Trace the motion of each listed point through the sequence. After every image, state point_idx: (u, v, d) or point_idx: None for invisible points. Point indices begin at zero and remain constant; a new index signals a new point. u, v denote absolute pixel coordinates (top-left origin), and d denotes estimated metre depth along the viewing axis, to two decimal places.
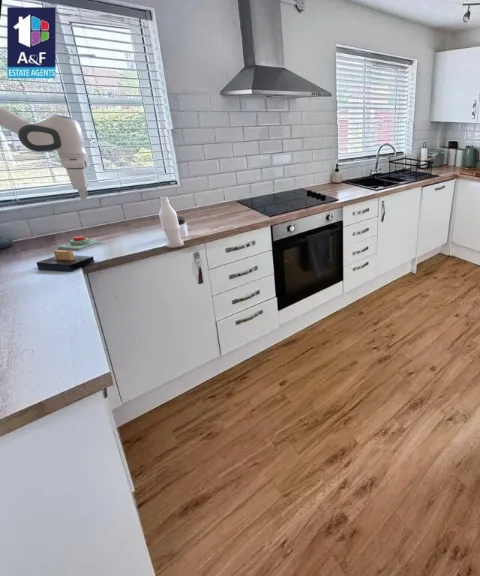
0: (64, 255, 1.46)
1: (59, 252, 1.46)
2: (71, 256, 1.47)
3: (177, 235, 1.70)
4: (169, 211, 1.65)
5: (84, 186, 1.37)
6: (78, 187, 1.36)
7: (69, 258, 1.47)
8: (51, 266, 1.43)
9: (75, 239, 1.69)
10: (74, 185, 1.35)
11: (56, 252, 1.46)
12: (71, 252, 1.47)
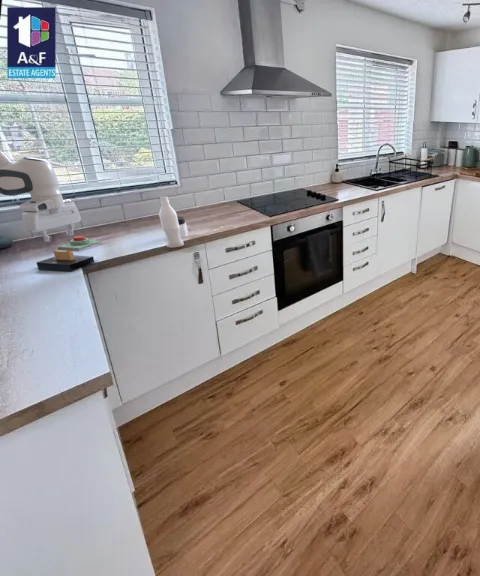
0: (64, 255, 1.46)
1: (59, 252, 1.46)
2: (71, 256, 1.47)
3: (177, 235, 1.70)
4: (169, 211, 1.65)
5: (34, 229, 1.33)
6: (29, 230, 1.34)
7: (69, 258, 1.47)
8: (51, 266, 1.43)
9: (75, 239, 1.69)
10: (26, 228, 1.33)
11: (56, 252, 1.46)
12: (71, 252, 1.47)
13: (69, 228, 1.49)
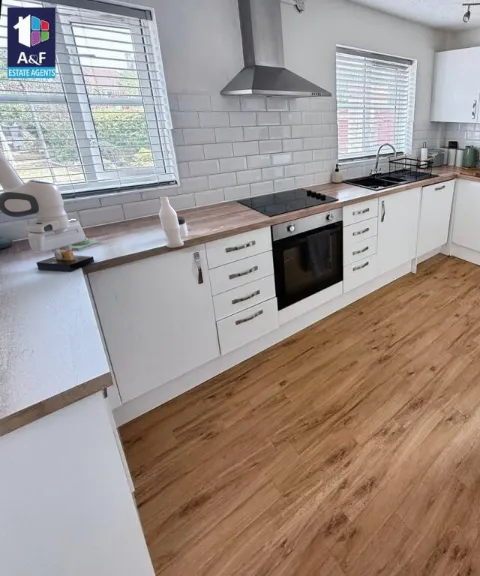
0: (64, 255, 1.46)
1: None
2: (71, 256, 1.47)
3: (177, 235, 1.70)
4: (169, 211, 1.65)
5: (40, 250, 1.36)
6: (35, 251, 1.36)
7: (69, 258, 1.47)
8: (51, 266, 1.43)
9: None
10: (32, 248, 1.36)
11: None
12: (71, 252, 1.47)
13: (67, 249, 1.49)
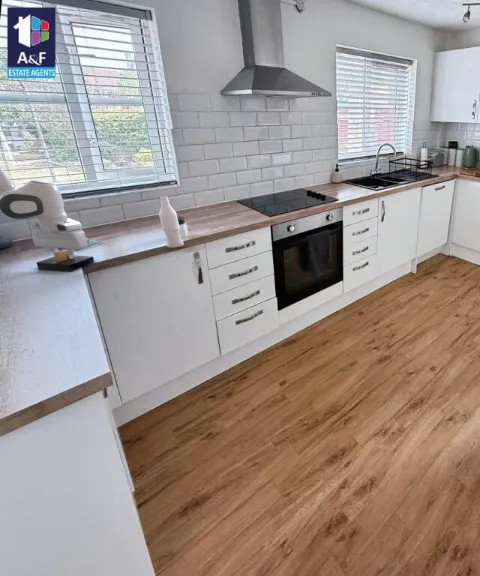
0: None
1: (63, 252, 1.46)
2: None
3: (177, 235, 1.70)
4: (169, 211, 1.65)
5: (87, 244, 1.46)
6: (83, 246, 1.44)
7: (73, 255, 1.50)
8: (51, 266, 1.43)
9: None
10: (81, 245, 1.43)
11: (60, 253, 1.45)
12: None
13: (55, 251, 1.47)
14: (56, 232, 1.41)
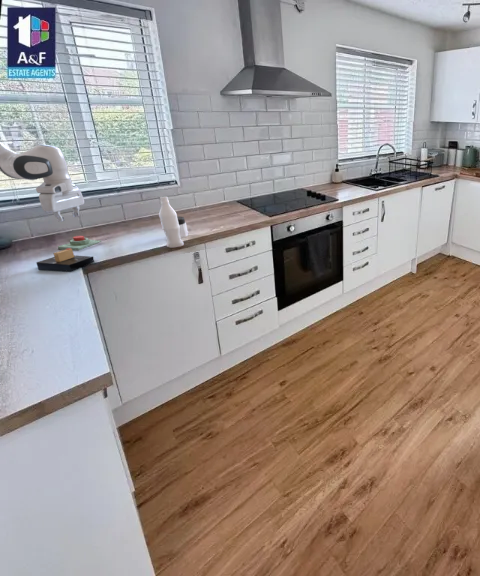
0: (68, 254, 1.48)
1: (63, 252, 1.46)
2: None
3: (177, 235, 1.70)
4: (169, 211, 1.65)
5: (51, 210, 1.48)
6: (47, 210, 1.48)
7: (73, 255, 1.50)
8: (51, 266, 1.43)
9: (75, 239, 1.69)
10: (43, 208, 1.47)
11: (60, 253, 1.45)
12: None
13: (75, 210, 1.63)
14: None
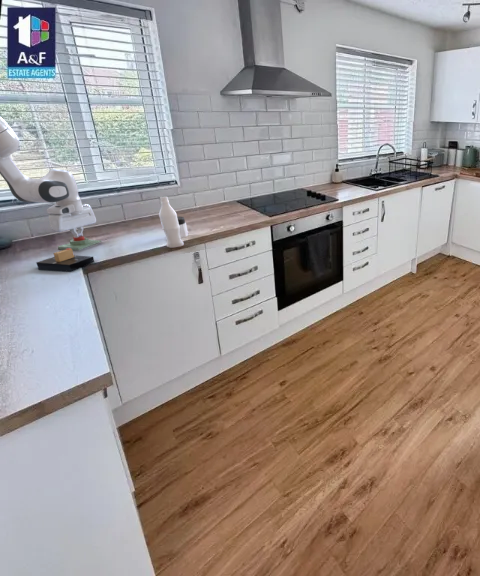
0: (68, 254, 1.48)
1: (63, 252, 1.46)
2: None
3: (177, 235, 1.70)
4: (169, 211, 1.65)
5: (58, 229, 1.59)
6: (54, 230, 1.59)
7: (73, 255, 1.50)
8: (51, 266, 1.43)
9: (75, 239, 1.69)
10: (52, 228, 1.59)
11: (60, 253, 1.45)
12: None
13: (79, 230, 1.71)
14: None
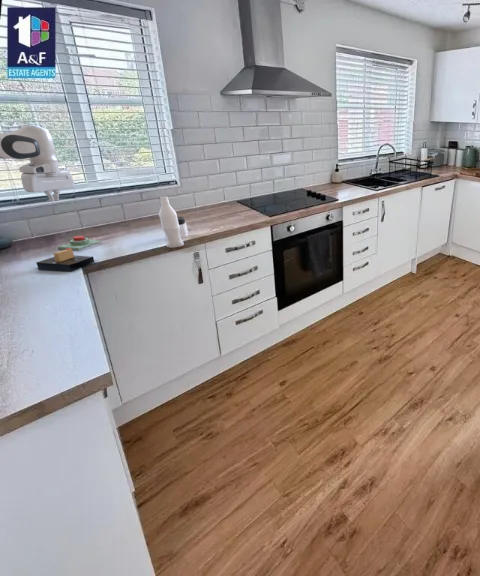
0: (68, 254, 1.48)
1: (63, 252, 1.46)
2: None
3: (177, 235, 1.70)
4: (169, 211, 1.65)
5: (31, 189, 1.49)
6: (27, 190, 1.49)
7: (73, 255, 1.50)
8: (51, 266, 1.43)
9: (75, 239, 1.69)
10: (24, 188, 1.49)
11: (60, 253, 1.45)
12: None
13: (55, 194, 1.60)
14: None
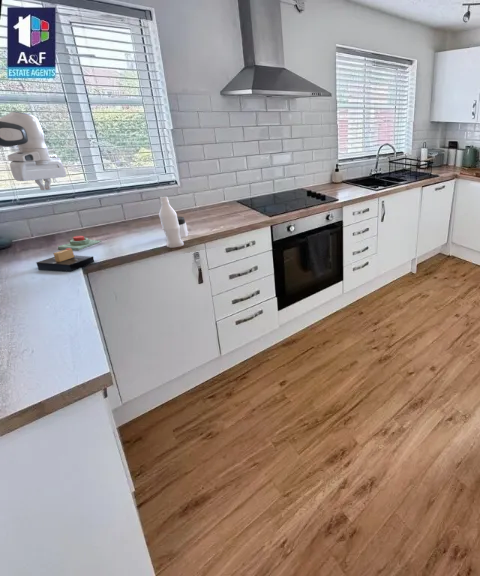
0: (68, 254, 1.48)
1: (63, 252, 1.46)
2: None
3: (177, 235, 1.70)
4: (169, 211, 1.65)
5: (21, 178, 1.46)
6: (17, 179, 1.46)
7: (73, 255, 1.50)
8: (51, 266, 1.43)
9: (75, 239, 1.69)
10: (14, 176, 1.45)
11: (60, 253, 1.45)
12: None
13: (46, 183, 1.57)
14: None
